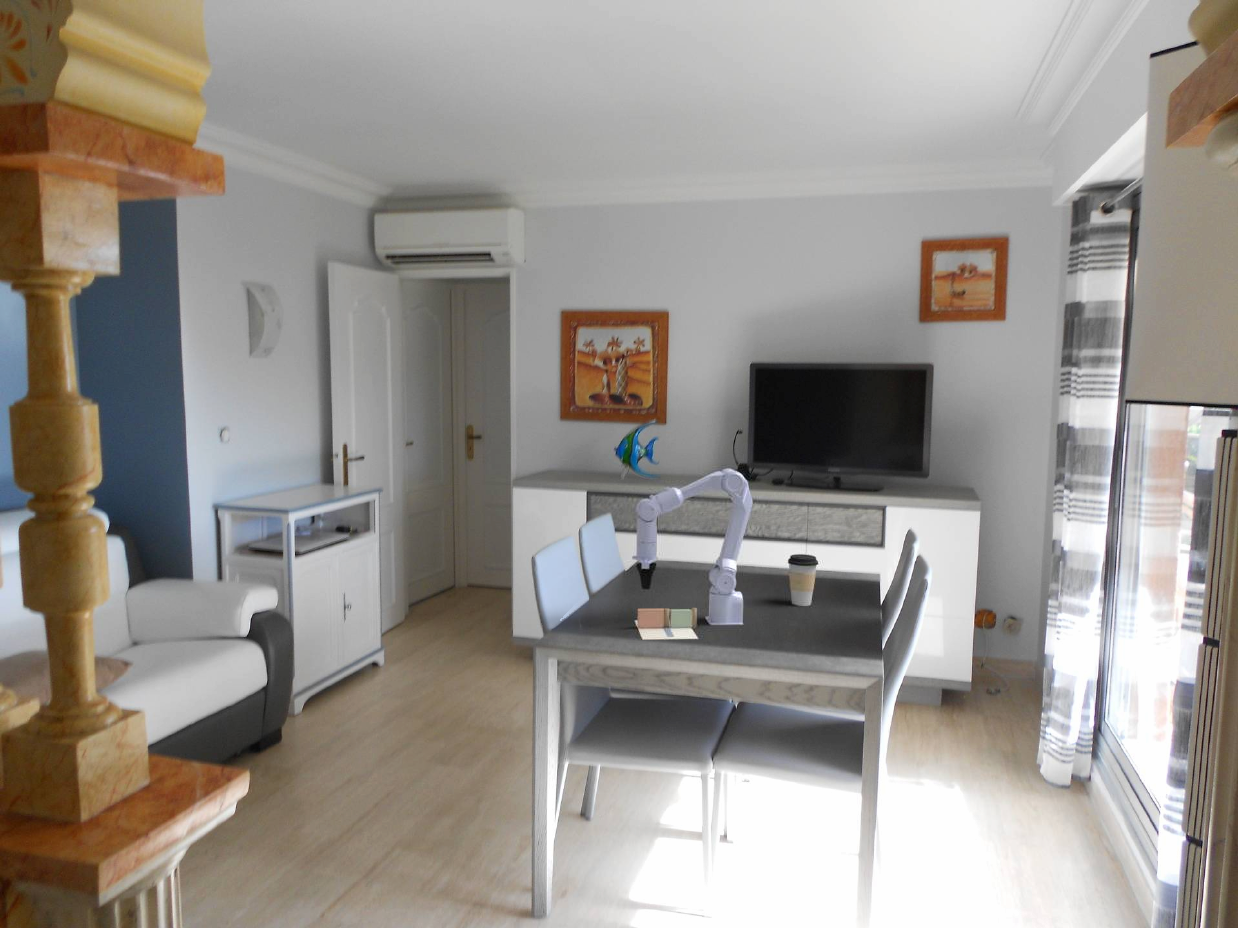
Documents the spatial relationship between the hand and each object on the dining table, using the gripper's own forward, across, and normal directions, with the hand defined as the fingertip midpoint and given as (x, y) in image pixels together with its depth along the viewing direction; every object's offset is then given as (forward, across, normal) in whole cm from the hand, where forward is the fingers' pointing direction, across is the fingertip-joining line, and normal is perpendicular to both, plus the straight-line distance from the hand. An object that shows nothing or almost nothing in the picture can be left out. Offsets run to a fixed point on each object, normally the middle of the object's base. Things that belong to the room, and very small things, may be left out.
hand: (645, 588), depth 251 cm
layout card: (+10, +7, +6) cm, 13 cm away
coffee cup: (+10, -28, +48) cm, 56 cm away
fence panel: (+9, +6, +3) cm, 11 cm away
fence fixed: (+10, +5, +11) cm, 15 cm away
